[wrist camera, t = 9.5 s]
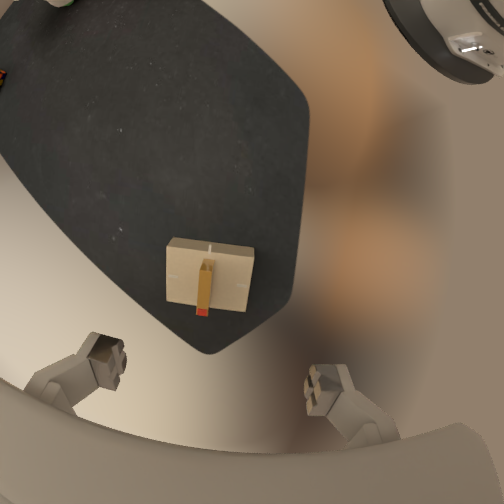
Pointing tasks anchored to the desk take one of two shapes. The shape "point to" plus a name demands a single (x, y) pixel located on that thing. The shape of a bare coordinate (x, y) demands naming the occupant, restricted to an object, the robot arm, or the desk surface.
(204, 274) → the yellow slab
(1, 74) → the rubik's cube
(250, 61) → the desk surface
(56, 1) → the cup
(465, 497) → the robot arm
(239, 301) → the tan block
